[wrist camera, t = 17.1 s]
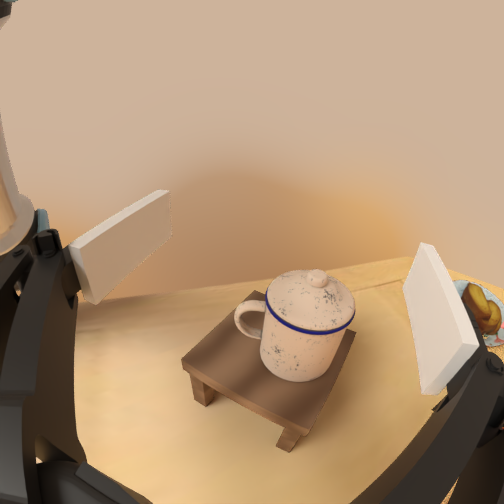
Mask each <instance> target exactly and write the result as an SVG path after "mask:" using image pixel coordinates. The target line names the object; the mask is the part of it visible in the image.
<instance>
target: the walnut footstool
mask: <svg viewBox="0 0 504 504" xmlns="http://www.w3.org/2000/svg"><path fill="white" fill-rule="evenodd" d="M249 300H258V301H265V294H262V293H260V292H258V291H255V290H254V291H253V292H252V293H251V294H250V295H249V296H248V297H247V298H246V299H245V300H244V301H243V302H245V301H249ZM243 302H242V303H243ZM265 302H266V301H265ZM235 311H236V309H234V310H233V311H232V312H231V313H230V314H229V315H228V316H227V317H226V318H225V319H224V320H223V321H222V322H221V323H220V324H219V325H218V326H216V327H215V328H214V329H213V330H212V331H211V332H210V333H209V334H208V335H207V336H206V337H205V338H204V339H202V340H201V341H200V342H199V343H198V344H197V345H196V346H195V347H194V348H193V349H192V350H191V351H189V352H188V353H187V354H186V355H185V356H184V357H183V358H182V359H181V361H182V366H183V369H184V370H185V371H187V372H188V373H190V378H191V383H192V389H193V394H194V399H195V400H196V401H198V402H199V403H201V404H202V405H204V406H205V407H206V406H207V405H208V404H209V403H210V402H211V401H212V400H213V398H214V389H215V390H216V391H218V392H220V393H221V394H223V395H225V396H226V397H228V398H230V399H232V400H233V401H235V402H237V403H239V404H240V405H242V406H244V407H246V408H248V409H249V410H251V411H253V412H255V413H257V414H259V415H261V416H263V417H264V418H266V419H268V420H270V421H272V422H274V423H276V424H278V425H281V426H283V427H285V428H284V430H283V432H282V434H281V436H280V438H279V440H278V442H277V444H276V447H278V448H280V449H283V450H285V451H287V452H290V451H291V449H292V448H293V446H294V445H295V443H296V442H297V440H298V439H299V437H300V436H301V435H302V436H304V437H306V436H307V434H308V433H309V431H310V430H311V428H312V426H313V424H314V422H315V421H316V419H317V417H318V415H319V413H320V411H321V409H322V407H323V405H324V403H325V401H326V399H327V397H328V395H329V393H330V391H331V389H332V387H333V385H334V383H335V381H336V379H337V377H338V374H339V372H340V370H341V368H342V365H343V363H344V361H345V359H346V356H347V354H348V352H349V349H350V347H351V344H352V342H353V340H354V337H355V335H356V332H354V331H351V330H349V329H346V331H345V333H344V335H343V338H342V340H341V342H340V345H339V347H338V349H337V351H336V353H335V356H334V358H333V360H332V362H331V364H330V366H329V368H328V369H327V371H326V372H325V373H324V374H323V375H321V376H320V377H318V378H316V379H314V380H310V381H305V382H293V381H288V380H285V379H282V378H280V377H278V376H276V375H275V374H273V373H272V372H271V371H270V370H269V369H268V368H267V367H266V366H265V364H264V363H263V361H262V359H261V355H260V345H261V340H260V339H255V338H251V337H248V336H246V335H245V334H243V333H242V332H241V331H240V330H239V329H238V327H237V326H236V323H235V319H234V315H235ZM242 318H243V320H244V322H245V323H246V324H247V325H249V326H250V327H252V328H256V329H261V330H263V325H264V319H265V312H260V311H247V312H244V313H243V314H242Z"/></svg>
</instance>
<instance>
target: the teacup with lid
mask: <svg viewBox="0 0 504 504" xmlns="http://www.w3.org/2000/svg"><path fill="white" fill-rule="evenodd" d="M265 301H266V302H265ZM265 301H258V300H249V301H245V302H243V303H241V304H240V305H238V307H237V308H236V311H235V315H234V319H235V323H236V326H237V327H238V329H239V330H240V331H241V332H242V333H243V334H245V335H246V336H248V337H251V338H255V339H260V340H261V345H260V355H261V359H262V361H263V363H264V364H265V366H266V367H267V368H268V369H269V370H270V371H271V372H272V373H273V374H275V375H276V376H278V377H280V378H282V379H285V380H288V381H293V382H305V381H310V380H314V379H316V378H318V377H320V376H321V375H323V374H324V373H325V372H326V371H327V369H328V368H329V366H330V364H331V362H332V360H333V358H334V356H335V353H336V351H337V349H338V347H339V345H340V342H341V340H342V338H343V335H344V333H345V331H346V328H347V326H348V325H349V324H350V323H351V321H352V320H353V318H354V315H355V302H354V298H353V296H352V294H351V292H350V291H349V289H348V288H347V287H346V286H345V285H344V284H343V283H341V282H340V281H339V280H337V279H335V278H334V277H332V276H329V275H327V274H326V273H325V272H324V271H322V270H319V269H313V270H295V271H289V272H287V273H284V274H282V275H280V276H278V277H277V278H275V279H274V280H273V281H272V282H271V284H270V285H269V287H268V289H267V291H266V295H265ZM247 311H260V312H265V319H264V325H263V330H261V329H256V328H252V327H250V326H249V325H247V324H246V323H245V322H244V320H243V318H242V314H243V313H244V312H247Z"/></svg>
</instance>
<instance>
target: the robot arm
mask: <svg viewBox="0 0 504 504" xmlns="http://www.w3.org/2000/svg"><path fill="white" fill-rule="evenodd" d="M15 1H18V0H0V29H1V28H2V27H3V25H4V24H5V23H6V22H7V20H8V19H9V18H10V13H11V6H12V2H15ZM171 236H172V226H171V207H170V191H166V190H157V191H155V192H153V193H151V194H149V195H147V196H146V197H144V198H142V199H140V200H139V201H137V202H135V203H133V204H132V205H130V206H128V207H127V208H125V209H123V210H121V211H120V212H118V213H117V214H115V215H113V216H112V217H110V218H108V219H107V220H105V221H104V222H102V223H100V224H99V225H97V226H96V227H94V228H92V229H91V230H90V231H88V232H86V233H85V234H84V235H82V236H80V237H79V238H77V239H76V240H75V241H73V242H72V243H70V244H69V245H68V246H66V247H65V248H63V249H62V245H61V242H60V238H59V233H58V231H57V230H56V229H50V227H49V220H48V214H47V211H46V210H44V209H37V210H36V211H35V210H34V207H33V204H32V202H31V200H30V199H29V198H28V197H26V196H24V195H22V194H19V191H18V188H17V185H16V182H15V178H14V175H13V171H12V168H11V165H10V160H9V156H8V152H7V148H6V143H5V138H4V133H3V128H2V122H1V116H0V504H153V503H152V502H150V501H149V500H148V499H147V498H145V497H144V496H142V495H140V494H139V493H137V492H135V491H133V490H131V489H129V488H128V487H126V486H124V485H122V484H121V483H119V482H117V481H115V480H114V479H112V478H110V477H108V476H107V475H105V474H103V473H102V472H100V471H98V470H97V469H95V468H94V467H92V466H91V465H89V464H88V463H87V459H86V455H85V452H84V449H83V447H82V446H81V444H80V442H79V440H78V437H77V430H76V419H75V404H74V345H75V329H76V317H77V307H78V296H77V294H76V293H77V292H78V291H79V290H82V293H83V296H84V299H85V300H86V301H88V302H90V303H92V304H94V305H97V304H98V303H99V302H100V301H102V300H103V299H104V298H105V297H106V296H107V295H108V294H109V293H110V292H111V291H112V290H113V289H114V288H115V287H116V286H117V285H118V284H119V283H120V282H121V281H122V280H123V279H125V278H126V277H127V276H128V275H129V274H130V273H131V272H132V271H133V270H134V269H135V268H137V267H138V266H139V265H140V264H141V263H142V262H143V261H144V260H145V259H147V258H148V257H149V256H150V255H151V254H152V253H153V252H154V251H156V250H157V249H158V248H159V247H160V246H161V245H162V244H164V243H165V242H166V241H167V240H168V239H169V238H171ZM19 290H20V291H21V294H20V296H18V295H17V293H16V291H19ZM403 292H404V296H405V300H406V305H407V309H408V314H409V318H410V323H411V328H412V333H413V338H414V344H415V350H416V356H417V362H418V369H419V377H420V385H421V394H427V395H438V394H439V393H440V392H441V391H442V390H443V389H444V388H445V387H446V386H447V392H448V394H447V395H446V396H445V397H444V398H443V399H442V400H441V401H440V402H439V403H438V404H437V405H436V406H435V407H434V408H433V409H432V410H433V411H434V412H433V414H432V415H431V417H430V418H429V419H428V421H427V422H426V423H425V425H424V426H423V427H422V429H421V430H420V431H419V433H418V434H417V435H416V436H415V438H414V439H413V440H412V441H411V442H410V444H409V445H408V446H407V447H406V448H405V450H404V451H403V452H402V453H401V454H400V455H399V456H398V457H397V459H396V460H395V461H394V462H393V463H392V464H391V465H390V466H389V467H388V468H387V469H386V470H385V471H384V472H383V473H382V474H381V475H380V476H379V477H378V478H377V479H376V480H375V481H374V482H373V483H372V484H371V485H370V486H369V487H368V488H367V489H366V490H365V491H363V492H362V493H361V494H360V495H359V496H358V497H357V498H355V499H354V500H353V501H352V502H351V503H350V504H441V502H442V501H443V500H444V498H445V497H446V495H447V494H448V493H449V491H450V490H451V488H452V487H453V485H454V484H455V482H456V481H457V479H458V481H457V483H456V486H455V488H454V491H453V493H452V495H451V497H450V500H449V502H448V504H504V429H503V424H504V364H503V362H502V360H501V359H500V358H499V357H498V356H497V355H496V354H494V353H493V352H488V350H487V347H486V344H485V342H484V339H483V336H482V334H481V331H480V329H479V326H478V324H477V322H476V319H475V317H474V315H473V312H472V311H471V309H470V308H469V307H468V306H467V304H466V303H463V302H462V300H461V298H460V296H459V294H458V292H457V290H456V288H455V285H454V283H453V281H452V279H451V277H450V275H449V273H448V271H447V269H446V268H445V266H444V264H443V262H442V260H441V258H440V256H439V255H438V253H437V251H436V249H435V247H434V246H433V245H429V244H425V243H421V244H420V246H419V249H418V252H417V254H416V257H415V259H414V262H413V264H412V267H411V269H410V271H409V274H408V276H407V278H406V281H405V283H404V285H403ZM36 457H37V458H39V459H40V460H41V461H42V463H38V464H36ZM458 477H459V478H458Z"/></svg>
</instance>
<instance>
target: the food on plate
mask: <svg viewBox="0 0 504 504" xmlns="http://www.w3.org/2000/svg"><path fill="white" fill-rule="evenodd" d="M453 283H454V285H455V288H456V290H457V292H458V294H459V296H460V298H461V300H462V302H463V303H466V304H467V306H468V307H469V308H470V309H471V311H472V312H473V315H474V317H475V319H476V322H477V324H478V326H479V329H480V331H481V334H483V335H484V337H485V336H486V337H488V336H489V337H488V338H487V339H484V342H485V344H486V346H488V347H492V346H496V345H497V346H499V345H501V344H504V329H502V328H501V325H502V323H503V322H504V304H503V303H502V302H501V301H500V300H499V299H498V298H497V297H496V296H495V295H494V294H493V293H491V292H490V291H489V290H488V289H487V288H484V287H483V286H481V285H480V284H476V283H474V282H469V281H467V280H457V281H453ZM490 344H492V345H490Z"/></svg>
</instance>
